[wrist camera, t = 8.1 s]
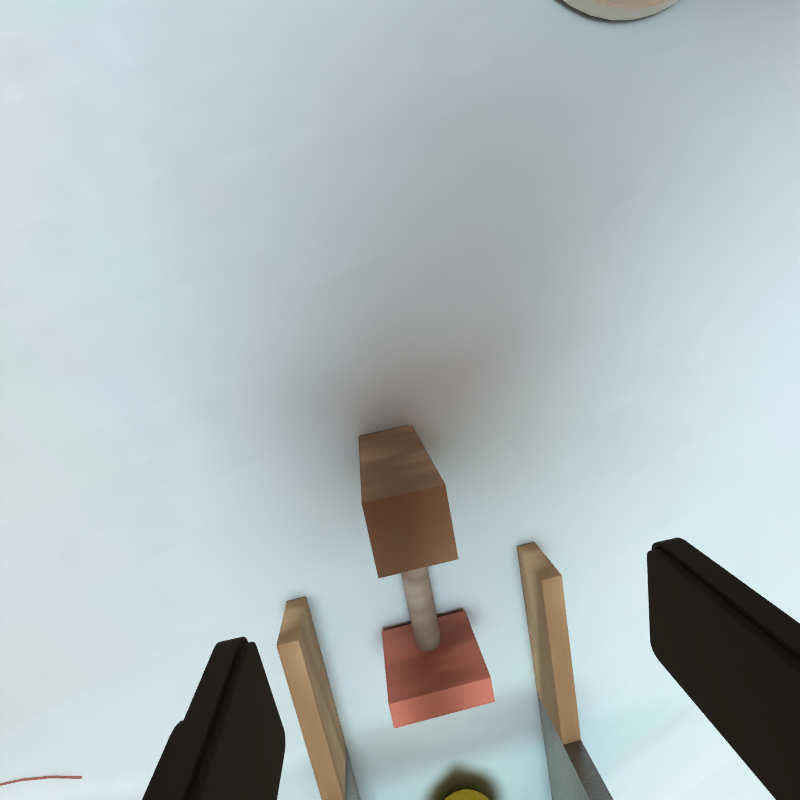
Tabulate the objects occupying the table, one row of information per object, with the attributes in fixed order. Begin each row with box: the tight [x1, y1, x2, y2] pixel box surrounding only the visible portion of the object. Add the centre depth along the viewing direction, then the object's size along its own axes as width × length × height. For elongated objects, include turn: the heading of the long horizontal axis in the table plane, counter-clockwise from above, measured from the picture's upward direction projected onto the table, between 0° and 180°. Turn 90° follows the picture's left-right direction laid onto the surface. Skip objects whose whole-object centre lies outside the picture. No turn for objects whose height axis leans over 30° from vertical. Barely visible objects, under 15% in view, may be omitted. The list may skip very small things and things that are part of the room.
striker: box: [359, 425, 495, 728], centre depth 21 cm, size 6×15×9 cm, turn 11°
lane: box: [277, 542, 581, 800], centre depth 26 cm, size 16×12×4 cm
